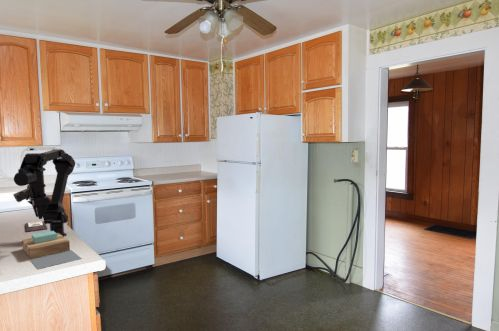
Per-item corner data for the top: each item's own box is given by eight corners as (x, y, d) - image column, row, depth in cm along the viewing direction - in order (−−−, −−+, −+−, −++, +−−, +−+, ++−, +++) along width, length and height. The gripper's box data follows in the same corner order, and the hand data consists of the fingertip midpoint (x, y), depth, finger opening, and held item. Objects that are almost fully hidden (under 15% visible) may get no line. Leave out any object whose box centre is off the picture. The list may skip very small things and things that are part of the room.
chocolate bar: (26, 231, 174) (25, 223, 188) (26, 233, 174) (25, 225, 189) (47, 228, 178) (44, 220, 193) (47, 230, 179) (44, 222, 193)
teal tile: (32, 240, 148) (31, 234, 147) (53, 236, 153) (53, 230, 153) (35, 243, 143) (35, 237, 143) (57, 239, 149) (56, 233, 148)
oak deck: (22, 249, 149) (22, 239, 149) (59, 241, 158) (58, 232, 158) (31, 259, 137) (30, 249, 137) (69, 250, 147) (69, 241, 146)
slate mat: (29, 259, 137) (29, 259, 137) (71, 250, 147) (71, 250, 147) (37, 269, 127) (37, 269, 127) (81, 258, 137) (81, 258, 137)
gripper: (10, 182, 153) (13, 217, 155) (18, 187, 139) (21, 225, 141) (39, 179, 160) (41, 213, 162) (50, 183, 147) (52, 220, 148)
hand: (39, 217), depth 153 cm, fingers open, 5 cm apart
